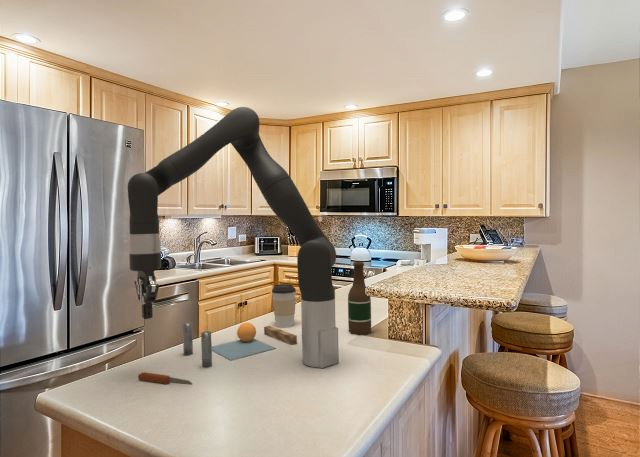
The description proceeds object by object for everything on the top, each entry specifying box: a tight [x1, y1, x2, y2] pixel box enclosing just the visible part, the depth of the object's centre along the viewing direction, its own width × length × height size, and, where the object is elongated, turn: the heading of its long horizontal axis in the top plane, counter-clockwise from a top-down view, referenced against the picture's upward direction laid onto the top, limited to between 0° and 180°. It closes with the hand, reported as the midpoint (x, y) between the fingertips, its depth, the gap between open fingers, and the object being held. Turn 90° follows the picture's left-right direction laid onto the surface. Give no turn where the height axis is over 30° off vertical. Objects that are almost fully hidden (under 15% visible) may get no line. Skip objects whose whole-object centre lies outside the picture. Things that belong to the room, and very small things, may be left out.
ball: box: [236, 322, 257, 342], centre depth 127 cm, size 6×6×6 cm
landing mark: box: [212, 338, 277, 361], centre depth 120 cm, size 15×15×1 cm
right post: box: [200, 330, 213, 368], centre depth 106 cm, size 3×3×9 cm
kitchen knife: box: [137, 371, 193, 386], centre depth 95 cm, size 16×1×2 cm, turn 70°
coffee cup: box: [271, 283, 297, 328], centre depth 146 cm, size 9×9×15 cm
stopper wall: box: [263, 325, 298, 346], centre depth 129 cm, size 16×2×2 cm, turn 40°
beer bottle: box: [347, 261, 372, 336], centre depth 134 cm, size 8×8×24 cm
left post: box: [182, 321, 194, 356], centre depth 116 cm, size 3×3×9 cm
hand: (147, 318), depth 102 cm, fingers closed
